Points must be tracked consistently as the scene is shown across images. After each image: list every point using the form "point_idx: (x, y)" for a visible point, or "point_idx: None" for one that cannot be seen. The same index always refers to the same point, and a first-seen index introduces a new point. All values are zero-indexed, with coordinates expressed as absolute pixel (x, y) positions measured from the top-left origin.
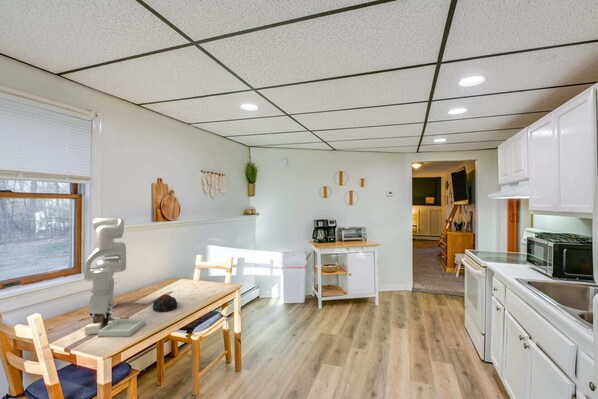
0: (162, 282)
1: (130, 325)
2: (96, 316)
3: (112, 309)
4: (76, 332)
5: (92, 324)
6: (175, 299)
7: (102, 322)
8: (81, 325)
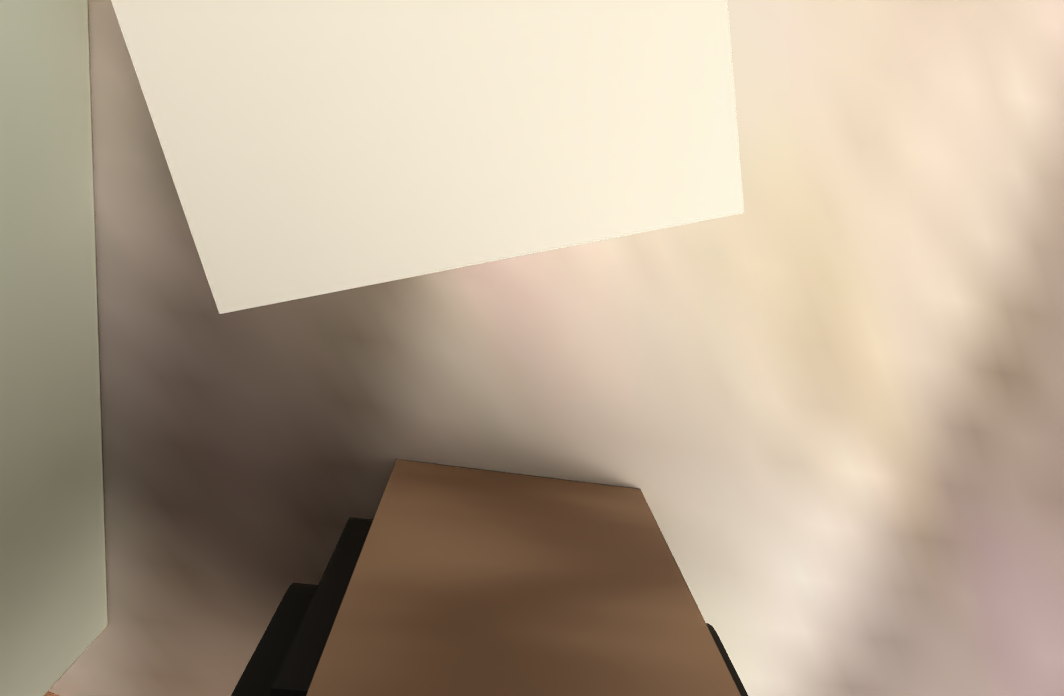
0: None
1: None
2: None
3: None
4: (936, 204)
5: (513, 165)
6: None
7: (363, 552)
8: (963, 632)
